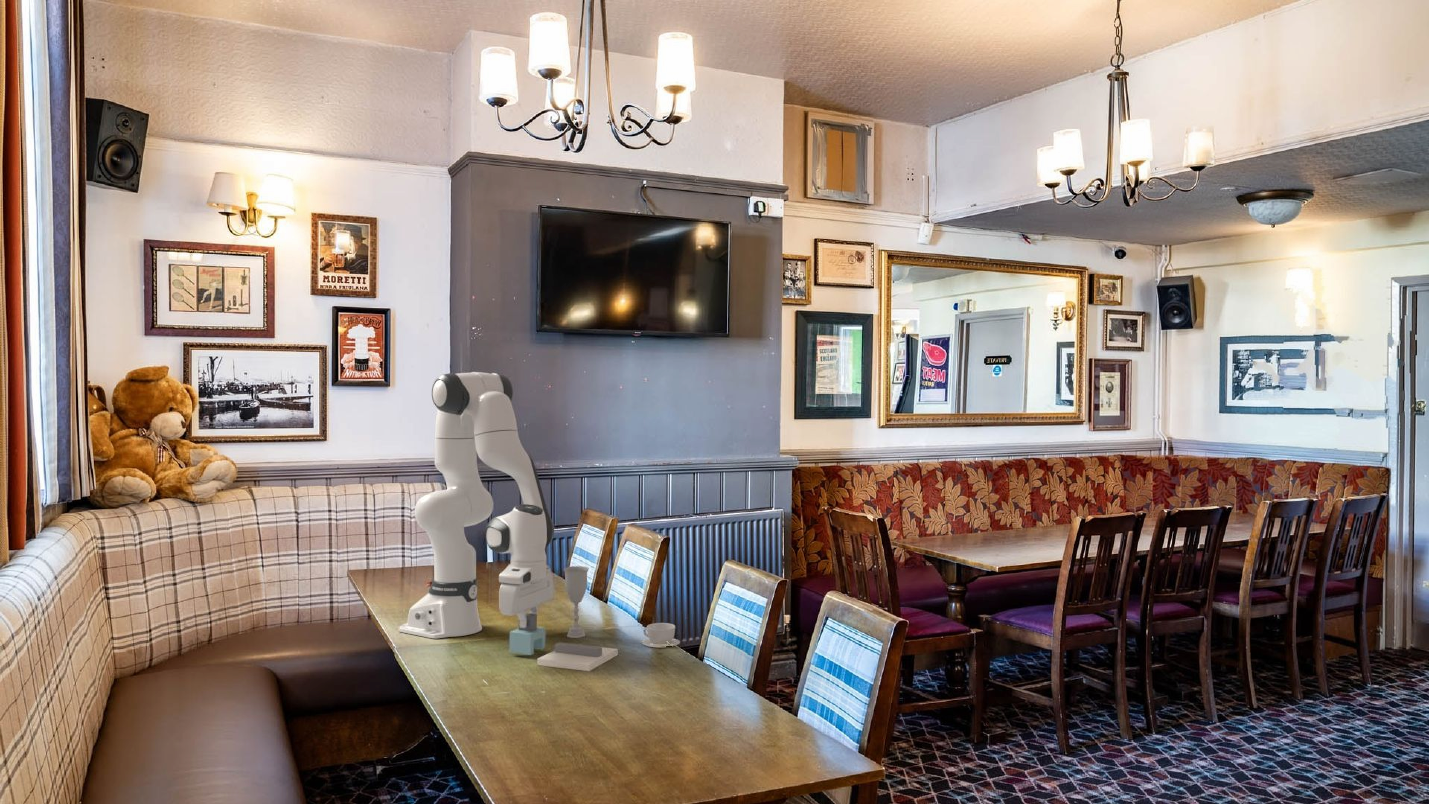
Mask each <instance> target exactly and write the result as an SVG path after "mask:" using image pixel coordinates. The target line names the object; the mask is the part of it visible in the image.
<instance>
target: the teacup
mask: <svg viewBox="0 0 1429 804" xmlns="http://www.w3.org/2000/svg"><path fill="white" fill-rule="evenodd" d="M675 633H676V625H675V624H673V623H668V622H655V623H650V624H648V625H646V627H644V628H643V635H644V637H647V638H646V639H643V640H642V641H641V644H642V645H644V646H646V647H650V648H663V647H662V646H655V645H650V644H652V643H653V644H667V642H666V641H668V642H669V643H670V644H673V645H674V646H673V647H675V646H677V645H680V644H681V641H680V640H679V639H676V638H674V637H675ZM670 644H668V645H669V646H671V645H670ZM664 648H667V647H666V646H665V647H664Z"/></svg>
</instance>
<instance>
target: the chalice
mask: <svg viewBox="0 0 1429 804" xmlns="http://www.w3.org/2000/svg"><path fill="white" fill-rule="evenodd" d="M589 569H590V568H589V566H582V565H581V566H580V565H577V566H576V565H574V566H568V567H567V566H566V567H564V568H563V571H564V587H565V591H566V594H567V595H568V598H569V600H570V602H571V603H572V604H573V605H574V608H573V610H572V611H573V613H574V615H573V617H572V618H573V622H574V623H573V625H572V626H570V627H569V629H568V631H567V634H566V638H570V639H571V638H572V639H581V638H584V637H585V636H586V634H585V631H584V628H583V627H582V626H581V625H579V619H580V616H579V615H578V614H579V612H580V610H579V606H578V605H579V603H581V602H582V601H583V600H584V599H583V598H584V596H585V595H586V591H587V588H588V572H589ZM583 636H584V637H583Z"/></svg>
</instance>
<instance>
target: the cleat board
mask: <svg viewBox="0 0 1429 804" xmlns="http://www.w3.org/2000/svg"><path fill="white" fill-rule="evenodd" d="M618 655H619V651H618V648H614V647H613V648H611V647H605V646H604V647H603V646H595V645H586V644H578V643H577V644H576V643H568V642H557V643H555V644H554V650H552V651H550V652H549V653H546V654H545V655H542V656H540V657H538V658H537V659H536V662H537V664H536V665H537V666H543V667H551V668H559V669H568V670H575V671H584V672H590V671H592V670H594V669H596V668H597V667H600V666H602V665H603V664H604V663H606V662H608V661H610V660H611V659H614V658H615V657H617V656H618Z"/></svg>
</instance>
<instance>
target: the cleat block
mask: <svg viewBox="0 0 1429 804" xmlns="http://www.w3.org/2000/svg"><path fill="white" fill-rule="evenodd" d="M526 618H527V620H529V623H528V624H529V626H528V627H525V628H521V627H520V626H519V625H518V627H517V628H516V629H514V630H511V631H509V647H508V648H509V653H514V654H521V655H529V656H531V655H533V654H535V653H534V652H535V651H534V649H536V650H537V649H538V650H543V649H545V648H546V627H539V626H538V613H537V614H532V613H529V612H527V614H526Z"/></svg>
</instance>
